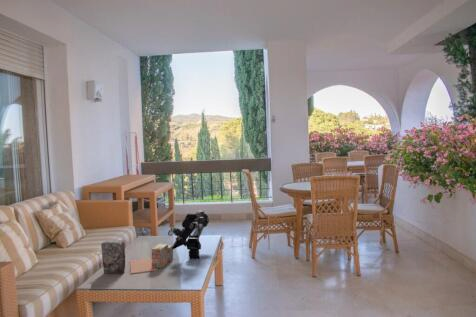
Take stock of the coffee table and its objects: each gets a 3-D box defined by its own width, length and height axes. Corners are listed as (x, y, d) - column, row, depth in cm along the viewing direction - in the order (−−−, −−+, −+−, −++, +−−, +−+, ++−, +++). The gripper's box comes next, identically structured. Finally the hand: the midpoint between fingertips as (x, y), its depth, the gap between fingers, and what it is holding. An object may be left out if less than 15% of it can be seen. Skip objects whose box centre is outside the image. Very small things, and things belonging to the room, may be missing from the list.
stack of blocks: (164, 257, 260) (164, 240, 259) (173, 258, 259) (173, 240, 258) (151, 267, 239) (151, 248, 238) (160, 268, 238) (160, 249, 237)
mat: (154, 258, 260) (154, 257, 260) (157, 270, 235) (157, 269, 235) (130, 261, 255) (130, 260, 255) (130, 274, 231) (130, 273, 230)
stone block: (102, 274, 231) (100, 242, 230) (106, 270, 238) (104, 239, 237) (123, 274, 231) (121, 242, 230) (127, 270, 238) (125, 239, 237)
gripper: (177, 220, 260) (161, 237, 257) (181, 226, 242) (165, 245, 239) (188, 230, 263) (173, 247, 260) (194, 236, 245) (177, 255, 242)
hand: (172, 248), depth 250 cm, fingers closed
